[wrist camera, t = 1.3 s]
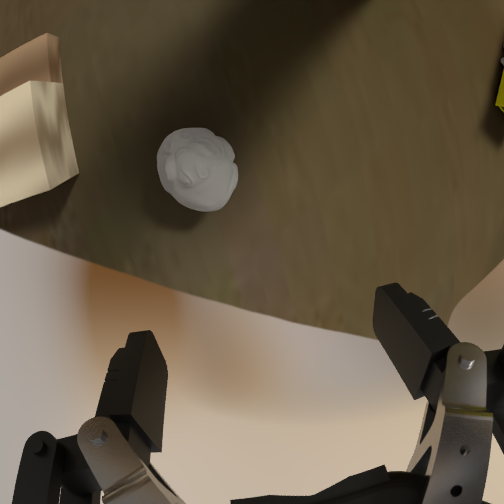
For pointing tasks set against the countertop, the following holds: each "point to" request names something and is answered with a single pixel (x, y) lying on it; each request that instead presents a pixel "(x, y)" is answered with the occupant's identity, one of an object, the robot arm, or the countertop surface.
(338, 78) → the countertop surface
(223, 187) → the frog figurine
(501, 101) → the yellow toy chassis
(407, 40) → the countertop surface
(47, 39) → the plinth
